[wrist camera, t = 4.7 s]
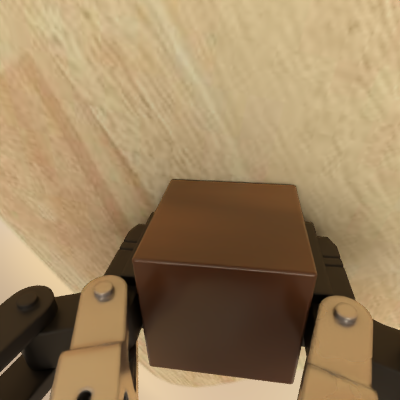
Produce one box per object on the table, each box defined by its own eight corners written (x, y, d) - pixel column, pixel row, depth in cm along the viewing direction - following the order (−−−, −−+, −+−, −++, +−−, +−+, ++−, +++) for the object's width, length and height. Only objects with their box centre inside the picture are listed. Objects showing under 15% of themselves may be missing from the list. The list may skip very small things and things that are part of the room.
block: (177, 270, 14) (148, 367, 10) (170, 178, 12) (130, 259, 8) (282, 279, 13) (293, 386, 10) (295, 184, 11) (318, 274, 7)
